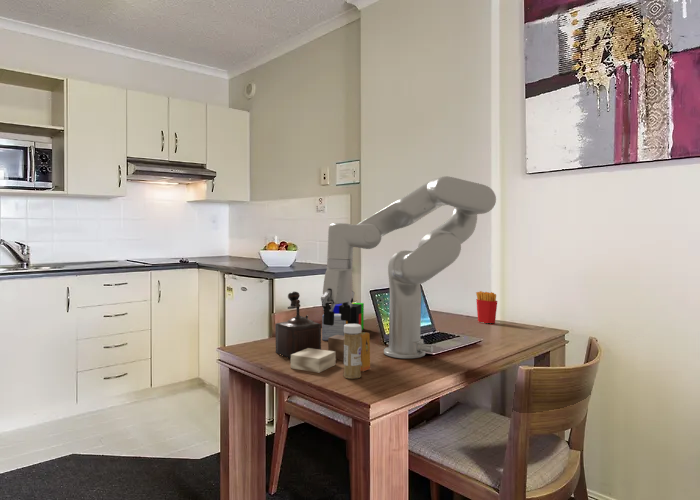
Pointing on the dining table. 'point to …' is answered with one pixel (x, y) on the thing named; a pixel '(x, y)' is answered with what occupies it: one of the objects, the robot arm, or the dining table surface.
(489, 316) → the french fries
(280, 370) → the dining table surface
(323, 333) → the medicine box
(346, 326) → the sprinkles bottle
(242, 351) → the dining table surface
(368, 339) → the supplement box
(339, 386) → the dining table surface
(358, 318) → the puzzle toy
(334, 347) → the walnut block
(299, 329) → the manual coffee grinder
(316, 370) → the birch block
